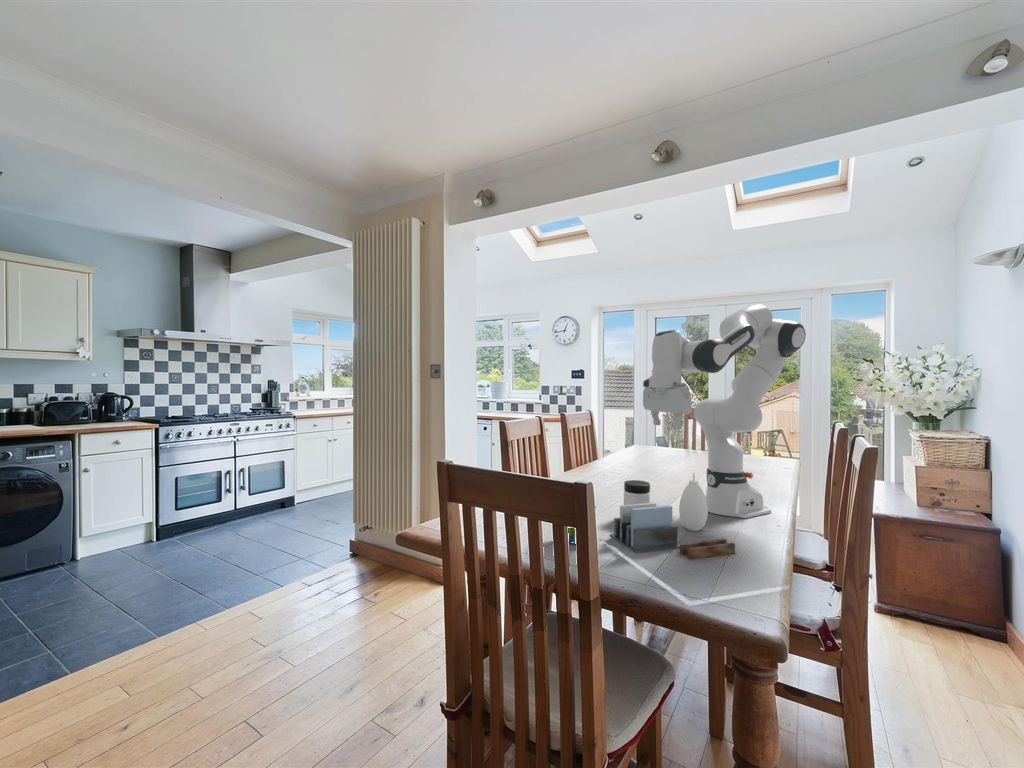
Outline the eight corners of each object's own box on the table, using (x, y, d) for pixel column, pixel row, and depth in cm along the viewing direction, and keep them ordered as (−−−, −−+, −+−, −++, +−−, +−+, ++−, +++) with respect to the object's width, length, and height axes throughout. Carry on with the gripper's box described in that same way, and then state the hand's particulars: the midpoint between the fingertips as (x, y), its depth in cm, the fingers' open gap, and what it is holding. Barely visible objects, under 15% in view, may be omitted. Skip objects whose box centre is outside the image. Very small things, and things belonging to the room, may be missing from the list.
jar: (655, 520, 150) (656, 483, 150) (640, 525, 145) (641, 487, 145) (632, 513, 157) (633, 478, 157) (617, 518, 152) (618, 482, 152)
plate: (668, 541, 128) (669, 505, 128) (672, 542, 127) (672, 506, 127) (630, 545, 125) (631, 508, 124) (633, 547, 123) (633, 510, 123)
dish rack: (651, 533, 138) (652, 499, 138) (682, 550, 124) (682, 513, 124) (609, 538, 134) (610, 503, 133) (636, 556, 120) (636, 517, 120)
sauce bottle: (712, 533, 138) (713, 473, 138) (695, 537, 134) (696, 476, 134) (690, 525, 145) (691, 468, 145) (673, 529, 141) (674, 471, 141)
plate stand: (722, 549, 125) (722, 538, 125) (736, 556, 120) (736, 544, 120) (678, 555, 121) (678, 543, 121) (691, 562, 116) (691, 550, 116)
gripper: (697, 382, 135) (696, 430, 135) (656, 381, 154) (655, 423, 155) (679, 382, 133) (678, 430, 133) (639, 381, 153) (639, 423, 153)
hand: (665, 426), depth 144 cm, fingers open, 8 cm apart
